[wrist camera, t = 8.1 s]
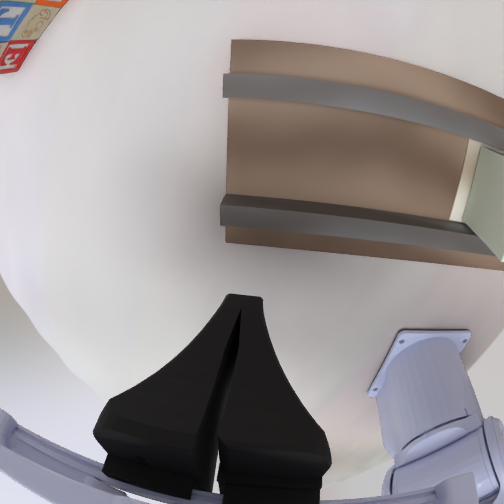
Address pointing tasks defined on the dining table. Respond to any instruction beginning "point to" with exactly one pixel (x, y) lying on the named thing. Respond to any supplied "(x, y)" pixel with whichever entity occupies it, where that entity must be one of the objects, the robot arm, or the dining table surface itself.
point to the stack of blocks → (22, 28)
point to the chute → (353, 154)
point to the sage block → (488, 201)
